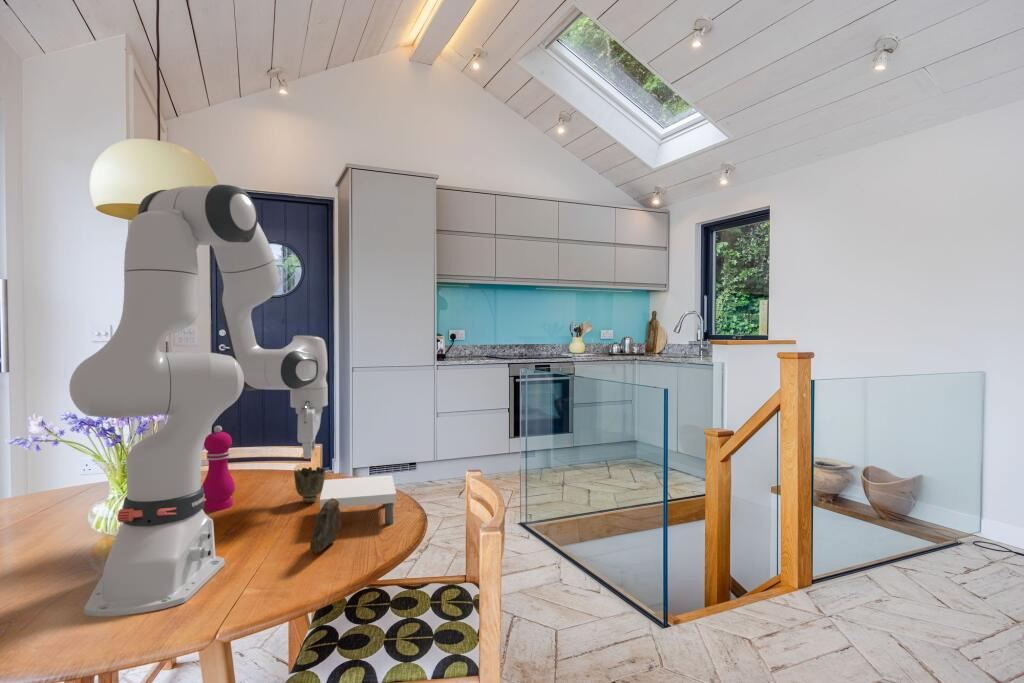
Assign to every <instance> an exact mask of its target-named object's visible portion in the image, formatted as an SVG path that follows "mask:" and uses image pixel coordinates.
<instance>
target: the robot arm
mask: <svg viewBox="0 0 1024 683" xmlns="http://www.w3.org/2000/svg"><path fill="white" fill-rule="evenodd" d="M258 217H259V216H258V211H257V207H256V204H255V202H254V200H253V199H252V198H251V196H250V195H249V194H248V193H247V192H246V191H245V190H244V189H242V188H241V187H239V186H236V185H230V184H216V185H185V186H179V187H174V188H173V187H172V188H170V189H160V190H156V191H153V192H151V193H149V194H147V195H146V196H145V197H144V198H143V199H142V200H141V201H140V203H139V205H138V210H137V214H136V215H135V216H134V217H133V218H132V219H131V221H130V224H129V227H128V232H127V237H126V242H125V250H124V261H123V272H124V273H123V275H124V276H123V277H124V278H123V283H124V284H123V289H124V290H123V303H122V312H121V318H120V321H119V324H118V326H117V328H116V330H115V332H114V333H113V335H112V336H111V337H110V339H109V340H108V341H107V342H106V344H104V345H103V347H101V348H100V349H99V350H98V351H97V352H95V353H93V354H92V355H91V356H89V357H87V358H85V360H83V361H82V362H80V364H78V366H77V367H76V368H75V370H74V371H73V373H72V374H71V378H70V380H69V384H68V385H69V396H70V399H71V401H72V403H73V404H74V406H75V408H77V409H78V410H79V411H80V412H81V413H82V414H84V416H87V417H98V418H107V419H110V418H111V419H128V418H137V417H138V418H139V417H151V416H163V415H164V416H167V421H166V422H165V424H164V425H163V426H162V428H161V429H159V430H158V431H157V432H155V433H153V434H151V435H148V436H146V437H145V438H143V439H141V440H139V441H138V442H137V443H136V444H134V446H133V447H132V448H130V451H128V453H127V456H126V496H125V497H124V499H123V505H122V508H120V509H119V510H118V511H117V515H116V518H117V522H118V523H122V524H121V525H120V526H119V527H118V531H117V533H116V536H115V539H114V541H113V543H112V546H111V548H110V551H109V554H108V556H107V559H106V562H105V565H104V568H103V573H102V575H101V577H100V578H99V580H98V583H97V584H96V585H95V588H94V589H93V591H92V593H91V595H90V597H89V598H88V600H87V602H86V604H85V605H84V607H83V614H84V615H86V616H89V617H90V616H92V617H119V616H128V615H135V614H143V613H148V612H150V613H151V612H154V611H159V610H165V609H168V608H171V607H175V606H178V605H181V604H184V603H186V602H187V601H188V600H189V599H190V598H191V597H193V595H194V594H196V592H198V591H199V590H200V589H201V588H202V587H203V586H204V585H205V584H206V583H207V582H208V581H210V579H211V578H213V577H214V576H215V575H216V573H218V572H219V571H220V570H221V569H222V568H223V567H224V566H225V564H226V563H225V562H226V561H225V558H224V557H221V556H217V555H216V547H215V546H216V545H215V532H214V531H215V530H214V529H215V528H214V520H213V519H212V518H211V517H209V516H208V515H207V514H206V513H205V510H204V501H205V500H206V499H205V496H204V490H203V487H202V482H201V481H202V477H201V476H202V459H203V458H202V457H203V450H204V441H205V438H206V437H207V436H208V435H209V432H210V430H211V428H212V427H213V424H214V423H215V421H216V420H217V419H218V418H219V417H220V415H221V414H223V413H224V412H225V410H227V409H228V408H229V407H231V406H232V405H233V404H234V403H235V402H237V400H239V397H240V396H241V394H242V392H243V390H246V391H259V390H260V391H262V390H271V391H272V390H275V391H279V390H280V391H281V390H283V391H284V390H285V391H286V390H287V391H289V390H290V393H289V394H290V398H289V399H290V400H289V401H290V404H289V406H290V408H293V409H295V413H296V415H297V434H296V436H297V437H296V438H297V442H298V443H299V444H302V445H301V446H302V454H303V455H302V456H303V459H305V460H306V459H311V458H312V455H313V451H315V448H316V436H317V435H318V432H319V430H320V426H321V421H322V420H321V419H322V413H323V408H324V407H327V406H328V405H329V402H328V398H329V396H328V393H329V392H328V391H329V390H328V386H329V385H328V382H327V374H328V365H329V364H328V351H327V344H326V342H325V339H324V338H322V337H320V336H318V335H310V334H297V335H294V336H293V337H292V340H291V342H290V343H289V344H288V345H286V346H284V347H282V348H279V349H278V348H277V349H275V348H274V349H272V348H271V349H269V348H268V349H267V348H263V347H262V346H260V345H259V344H258V343H257V340H256V336H255V330H254V325H253V321H252V311H253V309H254V308H256V307H258V306H259V305H262V304H263V303H265V302H267V301H268V300H270V299H271V297H273V296H274V295H275V293H276V292H277V290H278V288H279V285H280V281H281V280H280V279H281V278H280V272H279V268H278V265H277V262H276V259H275V256H274V253H273V251H272V248H271V245H270V243H269V241H268V239H267V236H266V235H265V233H264V231H263V228H262V227H261V225H260V223H259V222H258V219H259V218H258ZM199 246H211V248H212V249H213V252H214V256H215V259H216V263H217V265H218V268H219V271H220V274H221V278H222V281H223V284H222V285H223V290H222V292H221V294H220V296H219V307H220V312H221V318H222V321H223V326H224V330H225V336H226V339H227V343H228V347H229V351H230V355H227V354H222V353H216V352H209V351H189V352H188V351H183V352H182V351H181V352H179V351H178V352H176V351H175V352H164V351H160V346H161V343H162V341H163V340H164V339H165V338H167V337H168V336H171V335H173V334H175V333H178V332H179V331H180V332H181V331H183V330H184V329H187V328H188V327H190V326H191V325H193V323H195V322H196V320H197V318H198V316H199V314H200V301H199V299H200V298H199V296H200V295H199V294H200V293H199V261H198V253H197V249H198V247H199Z"/></svg>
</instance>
